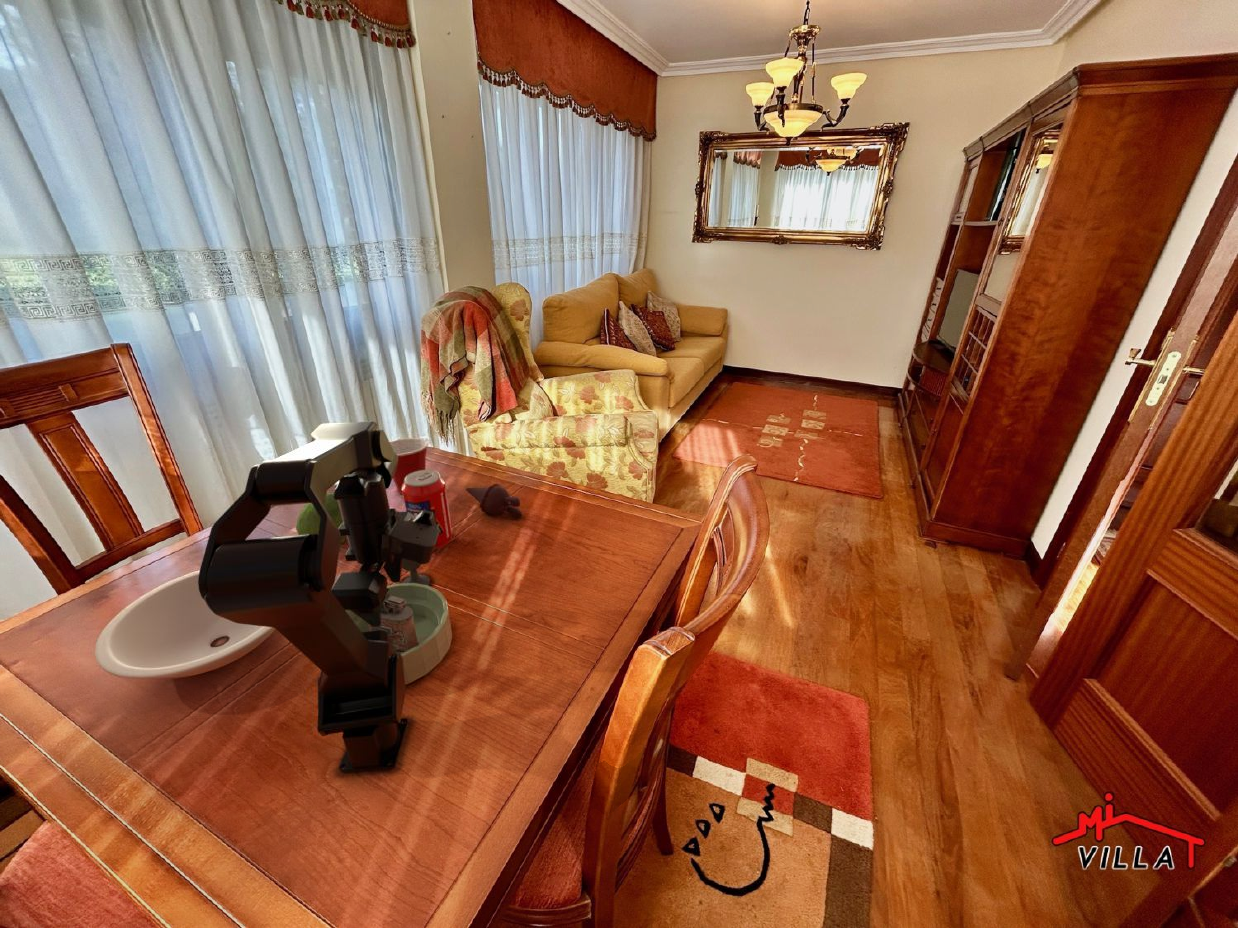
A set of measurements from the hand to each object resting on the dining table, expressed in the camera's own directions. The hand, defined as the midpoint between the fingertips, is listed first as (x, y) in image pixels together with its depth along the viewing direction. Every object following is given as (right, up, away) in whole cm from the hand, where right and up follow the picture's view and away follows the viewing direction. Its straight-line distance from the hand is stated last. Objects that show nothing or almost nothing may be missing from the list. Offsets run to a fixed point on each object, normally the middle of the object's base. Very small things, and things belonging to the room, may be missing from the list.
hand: (387, 602), depth 73 cm
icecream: (+6, +9, +40) cm, 41 cm away
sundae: (-3, -2, +17) cm, 18 cm away
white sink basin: (-27, -7, +4) cm, 29 cm away
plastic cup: (-16, +14, +47) cm, 52 cm away
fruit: (-23, +5, +29) cm, 38 cm away
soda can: (-4, +4, +29) cm, 29 cm away
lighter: (0, -8, +4) cm, 9 cm away
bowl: (0, -8, +4) cm, 9 cm away
